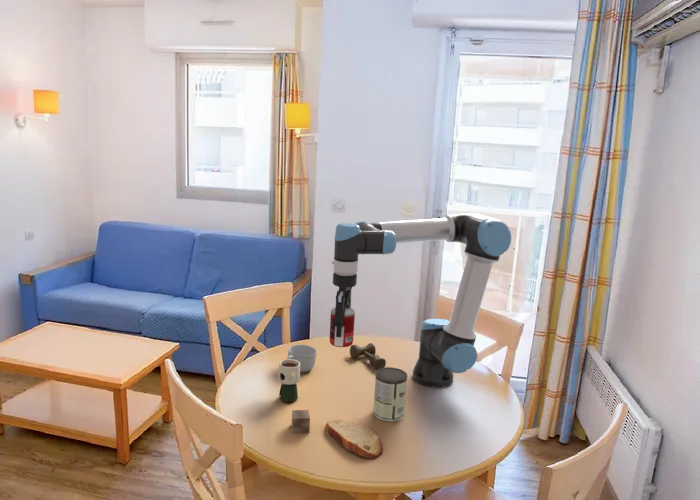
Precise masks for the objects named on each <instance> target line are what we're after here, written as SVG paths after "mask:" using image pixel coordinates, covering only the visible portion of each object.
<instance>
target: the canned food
mask: <svg viewBox="0 0 700 500" xmlns="http://www.w3.org/2000/svg"><path fill="white" fill-rule="evenodd" d="M355 314H356V311H355V310H354V309H353V308H352V307H351V308H346V309H345V315H344V324H343V325H344V338H343V347H341V346H334V341H335V327H334V326H333V324H334V319H335V307H333V308H331V310H330V318H329V319H330V321H329V322H330V323H329V324H330V325H329V344H330V345H332V346H334V347H337V348H348V347H351V345H353V343H354V334H355V319H356V315H355Z"/></svg>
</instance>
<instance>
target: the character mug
mask: <svg viewBox="0 0 700 500" xmlns="http://www.w3.org/2000/svg"><path fill="white" fill-rule="evenodd" d="M300 376H301V372H300V362H299V361H297V360H293V359H287V358H286V359H283V360H280V361H279V362H278V378H277V379H278V382H279V383H280V389H279V394H278V395H279V396H278V397H279V400H280V401H281V402H284V403H288V402H293V401H296V400H297V399H298V397H299V396H298V393H299V391H298V386H297V384H298V383H299V382H300V378H301V377H300Z"/></svg>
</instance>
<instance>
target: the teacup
mask: <svg viewBox="0 0 700 500" xmlns="http://www.w3.org/2000/svg"><path fill="white" fill-rule="evenodd" d="M287 349H288V352H287V353H288V354H287V357H286V359H293V360H297V361H299V362H300V373H306V372H309V371H310V370H312V369H314V367H315V364H316V359H317V353H318V352H317V349H316V348H315V347H313V346H310V345H308V344H294V345H290V346H289V347H288V348H287Z"/></svg>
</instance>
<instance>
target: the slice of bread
mask: <svg viewBox="0 0 700 500" xmlns="http://www.w3.org/2000/svg"><path fill="white" fill-rule="evenodd" d="M324 431H326V433H327V435H329V436H330V437H331V438H332V439H333V440H334V441H335V442H336V443H338V444H339V445H340V446H342V447H343V448H344V449H346V450H347V451H349V452H351V453H353V454H356V455H358V456H359V457H361V458H364V459H368V460H377V459H378V458H380V457H381V456H383V449H384V448H383V443H382V439H381V438H380V436H379V435H378V434H377V433H376V432H375V431H373V430H372V429H370V428H369V427H367V426H365V425H360V424H358V423H355V422H351V421H346V420H340V419H339V420H338V419H337V420H330V421H329V420H328V421H327V422H326V424H325V426H324Z"/></svg>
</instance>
